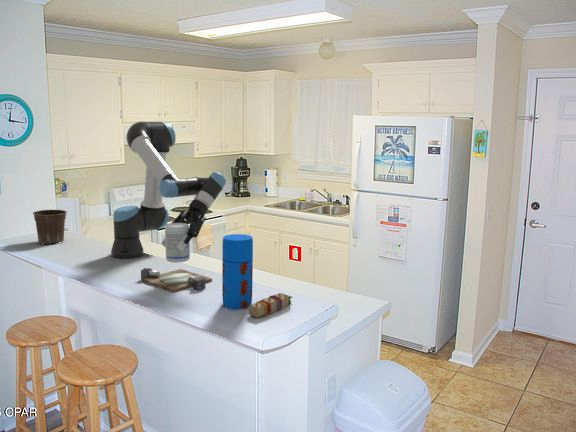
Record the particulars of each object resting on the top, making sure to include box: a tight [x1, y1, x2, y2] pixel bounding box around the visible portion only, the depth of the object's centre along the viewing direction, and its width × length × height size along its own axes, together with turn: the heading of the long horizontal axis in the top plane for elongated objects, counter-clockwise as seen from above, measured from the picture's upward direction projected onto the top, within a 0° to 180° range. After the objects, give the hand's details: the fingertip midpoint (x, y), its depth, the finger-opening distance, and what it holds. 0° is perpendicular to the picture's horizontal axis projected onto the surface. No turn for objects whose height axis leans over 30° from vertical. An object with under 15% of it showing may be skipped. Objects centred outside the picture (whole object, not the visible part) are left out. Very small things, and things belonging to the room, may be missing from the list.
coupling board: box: [141, 268, 213, 293], centre depth 214 cm, size 20×20×2 cm
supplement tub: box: [164, 222, 191, 263], centre depth 211 cm, size 10×10×15 cm
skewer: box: [248, 292, 293, 318], centre depth 184 cm, size 21×6×5 cm, turn 140°
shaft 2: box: [188, 277, 206, 291], centre depth 206 cm, size 7×4×4 cm, turn 50°
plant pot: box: [32, 209, 68, 245], centre depth 273 cm, size 16×16×16 cm
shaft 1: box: [140, 267, 161, 281], centre depth 215 cm, size 7×4×4 cm, turn 80°
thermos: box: [221, 233, 254, 310], centre depth 187 cm, size 11×11×25 cm
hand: (171, 247), depth 208 cm, fingers closed on supplement tub, 9 cm apart
